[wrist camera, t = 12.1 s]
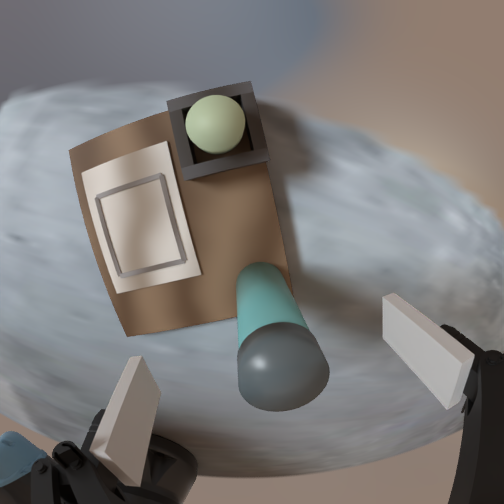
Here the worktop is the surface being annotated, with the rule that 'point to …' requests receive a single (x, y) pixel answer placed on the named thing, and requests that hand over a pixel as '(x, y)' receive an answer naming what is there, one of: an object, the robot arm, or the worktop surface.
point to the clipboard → (177, 215)
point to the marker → (275, 343)
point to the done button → (215, 124)
